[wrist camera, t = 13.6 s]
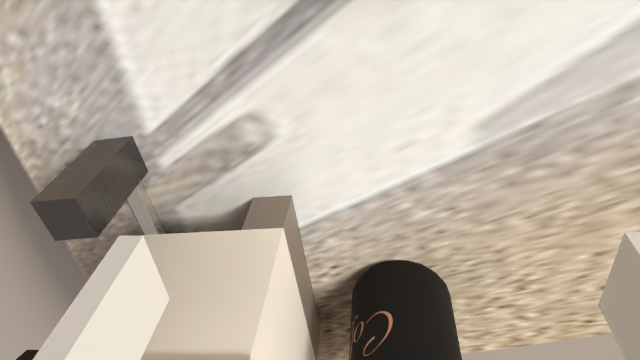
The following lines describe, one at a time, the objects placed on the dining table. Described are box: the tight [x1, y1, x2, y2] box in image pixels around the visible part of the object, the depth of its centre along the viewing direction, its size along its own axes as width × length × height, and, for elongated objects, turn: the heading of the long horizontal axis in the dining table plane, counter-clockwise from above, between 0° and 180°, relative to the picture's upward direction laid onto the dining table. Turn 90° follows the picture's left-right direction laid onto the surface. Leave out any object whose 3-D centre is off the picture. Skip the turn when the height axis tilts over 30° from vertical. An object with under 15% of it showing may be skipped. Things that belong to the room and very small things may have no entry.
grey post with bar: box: [31, 136, 166, 241], centre depth 45 cm, size 20×4×10 cm, turn 11°
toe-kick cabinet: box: [141, 196, 320, 360], centre depth 44 cm, size 21×16×20 cm
